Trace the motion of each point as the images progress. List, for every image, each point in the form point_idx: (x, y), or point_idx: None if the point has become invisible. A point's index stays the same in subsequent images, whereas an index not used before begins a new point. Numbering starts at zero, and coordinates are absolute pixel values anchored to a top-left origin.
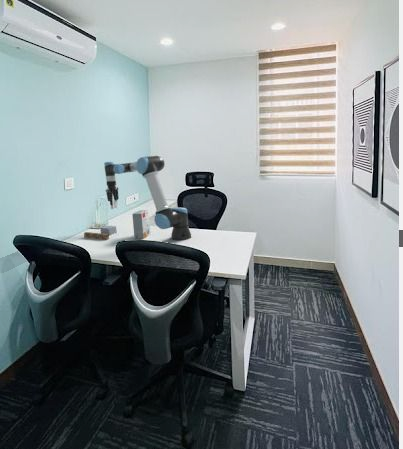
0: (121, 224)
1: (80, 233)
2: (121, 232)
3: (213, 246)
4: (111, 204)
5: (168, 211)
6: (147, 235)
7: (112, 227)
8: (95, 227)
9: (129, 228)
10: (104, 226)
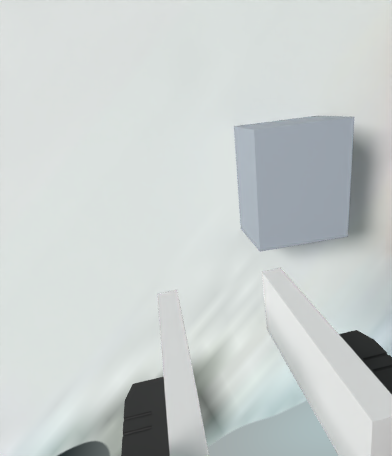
0: (4, 341)
1: None
2: (202, 96)
3: None
4: (378, 345)
5: None
6: None
7: (306, 122)
8: None
9: (56, 147)
10: (299, 240)
